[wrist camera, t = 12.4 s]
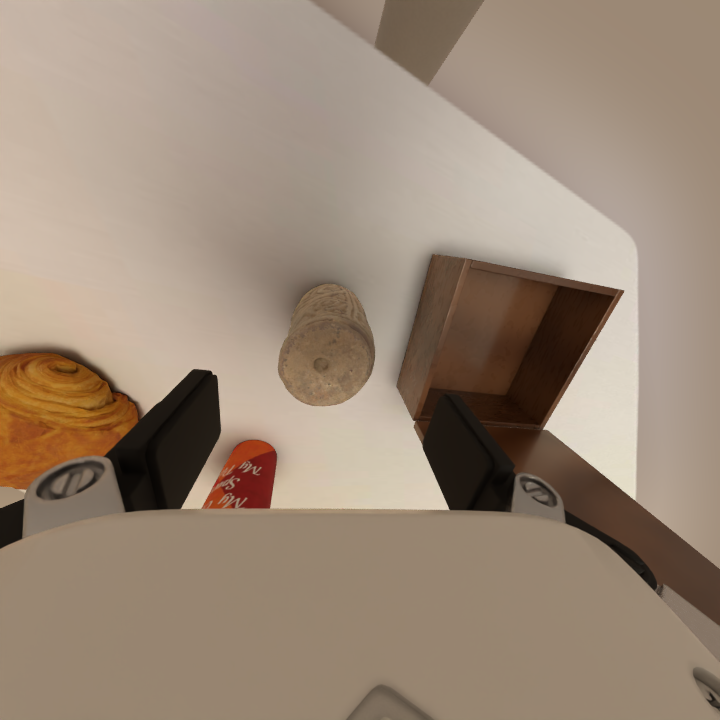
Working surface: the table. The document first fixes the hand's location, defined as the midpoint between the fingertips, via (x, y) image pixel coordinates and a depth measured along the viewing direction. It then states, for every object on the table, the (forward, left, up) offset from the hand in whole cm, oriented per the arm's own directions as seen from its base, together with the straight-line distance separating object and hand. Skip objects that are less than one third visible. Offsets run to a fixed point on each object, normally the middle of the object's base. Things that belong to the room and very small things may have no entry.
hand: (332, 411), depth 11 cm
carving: (+1, 0, -17) cm, 17 cm away
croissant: (+15, -26, -17) cm, 35 cm away
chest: (0, +17, -17) cm, 24 cm away
